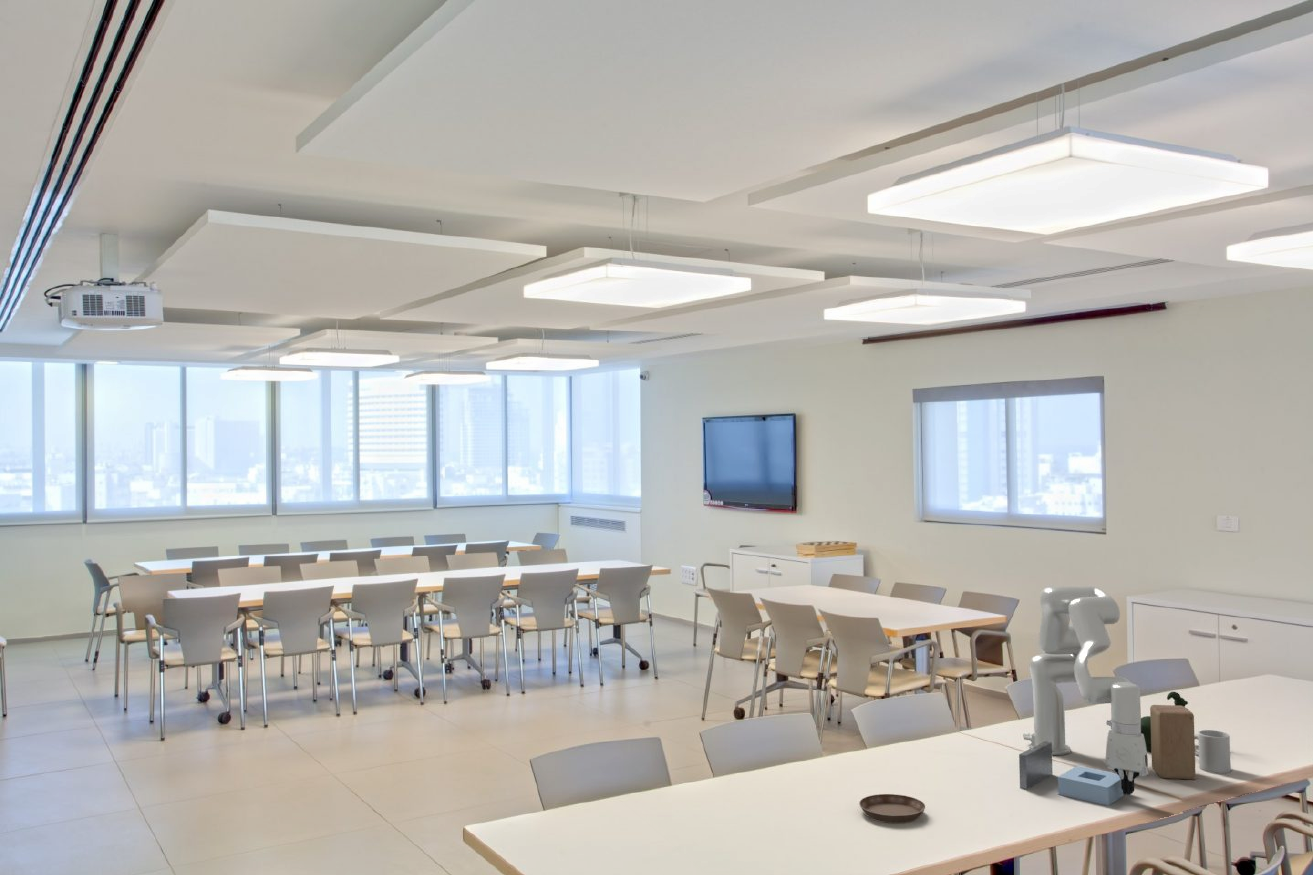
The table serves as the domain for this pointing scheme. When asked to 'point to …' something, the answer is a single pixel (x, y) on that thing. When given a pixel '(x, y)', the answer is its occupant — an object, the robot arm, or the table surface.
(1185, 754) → the wooden block
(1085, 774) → the socket block
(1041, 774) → the backstop wall
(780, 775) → the table surface
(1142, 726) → the toy figurine
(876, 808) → the plant saucer
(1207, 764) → the mug
